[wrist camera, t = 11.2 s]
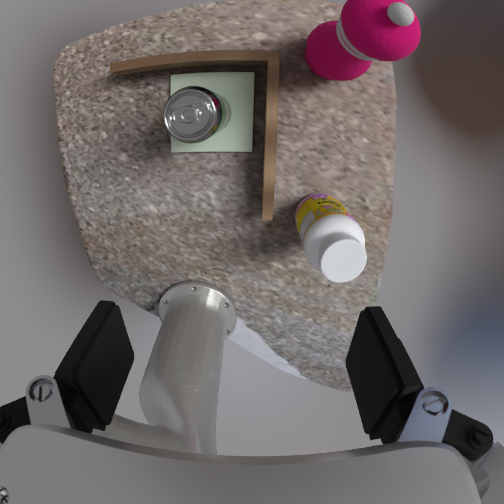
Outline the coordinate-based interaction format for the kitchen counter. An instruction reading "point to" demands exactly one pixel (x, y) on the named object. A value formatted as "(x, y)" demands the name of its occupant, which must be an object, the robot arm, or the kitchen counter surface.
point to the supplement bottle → (330, 237)
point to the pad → (241, 102)
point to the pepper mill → (362, 38)
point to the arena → (228, 59)
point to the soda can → (195, 114)
